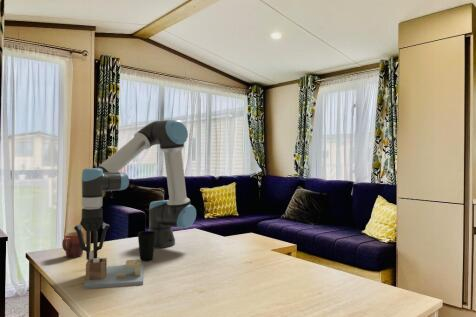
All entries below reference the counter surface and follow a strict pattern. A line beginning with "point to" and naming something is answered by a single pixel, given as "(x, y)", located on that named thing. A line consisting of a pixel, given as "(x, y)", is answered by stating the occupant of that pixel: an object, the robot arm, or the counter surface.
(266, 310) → the counter surface
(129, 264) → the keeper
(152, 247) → the cup
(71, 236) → the mug
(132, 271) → the board
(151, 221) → the robot arm
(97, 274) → the link
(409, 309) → the counter surface
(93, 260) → the cylinder
